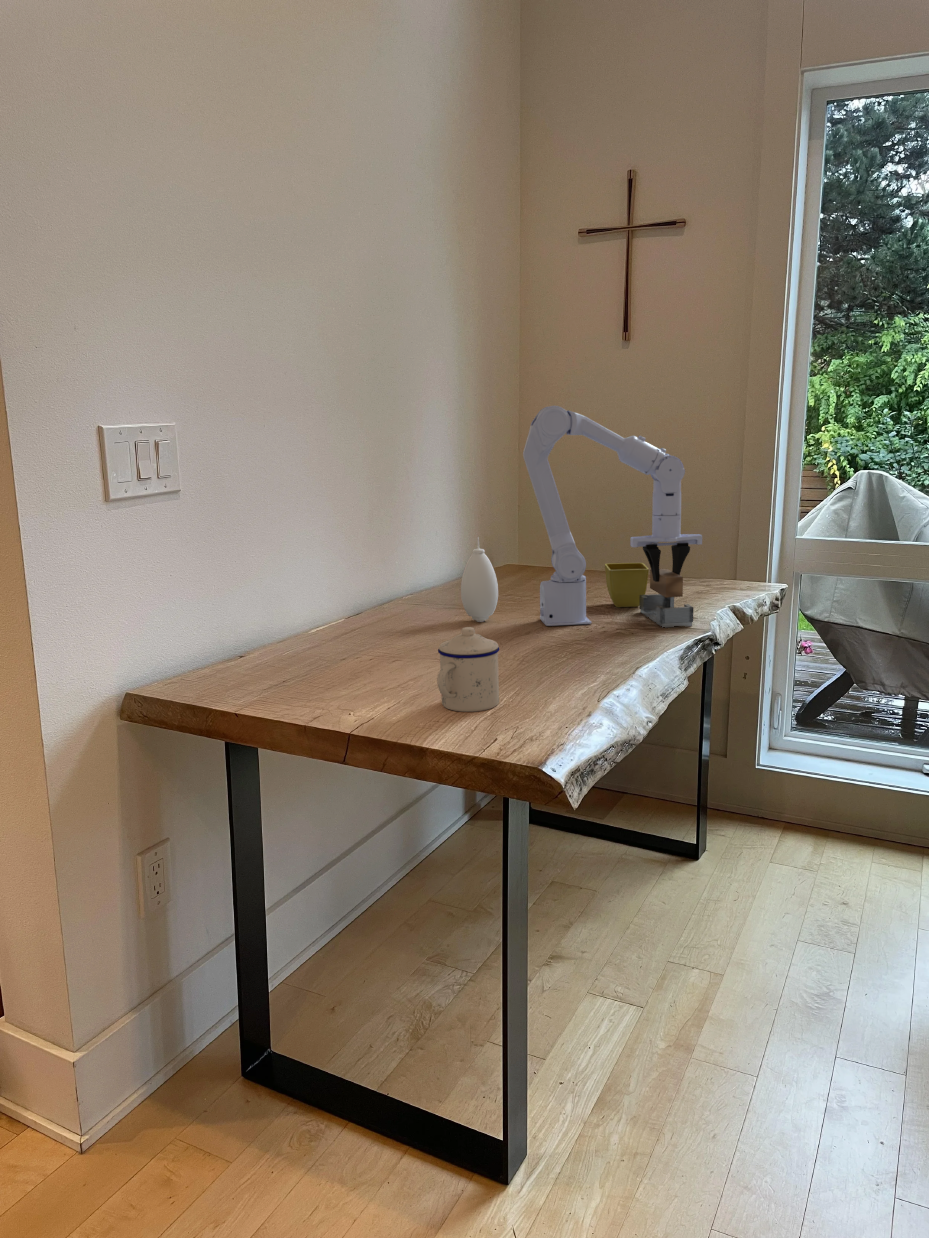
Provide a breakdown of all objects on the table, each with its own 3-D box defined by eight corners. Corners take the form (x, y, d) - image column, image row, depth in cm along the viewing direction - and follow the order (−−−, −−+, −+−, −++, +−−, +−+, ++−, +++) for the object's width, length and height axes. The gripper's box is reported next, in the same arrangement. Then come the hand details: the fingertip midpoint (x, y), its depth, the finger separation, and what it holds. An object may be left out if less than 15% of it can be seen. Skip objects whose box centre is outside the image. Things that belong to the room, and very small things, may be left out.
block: (665, 597, 188) (665, 577, 187) (649, 588, 198) (650, 569, 198) (682, 596, 188) (682, 577, 187) (666, 587, 199) (666, 568, 198)
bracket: (661, 627, 186) (661, 609, 186) (639, 612, 202) (639, 594, 201) (693, 626, 187) (693, 607, 186) (668, 610, 203) (669, 593, 202)
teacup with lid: (463, 692, 146) (460, 619, 144) (512, 700, 141) (510, 625, 139) (415, 712, 137) (412, 635, 134) (466, 722, 131) (464, 641, 129)
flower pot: (649, 608, 205) (649, 568, 204) (609, 609, 206) (609, 569, 204) (642, 601, 214) (642, 562, 212) (604, 602, 214) (604, 563, 212)
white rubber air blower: (465, 626, 194) (463, 539, 190) (458, 618, 201) (456, 535, 197) (502, 623, 195) (500, 537, 191) (494, 616, 203) (492, 533, 199)
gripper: (637, 517, 186) (636, 585, 188) (708, 514, 187) (706, 581, 190) (627, 514, 192) (627, 579, 195) (696, 511, 194) (695, 576, 196)
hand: (665, 580), depth 193 cm, fingers closed on block, 3 cm apart
